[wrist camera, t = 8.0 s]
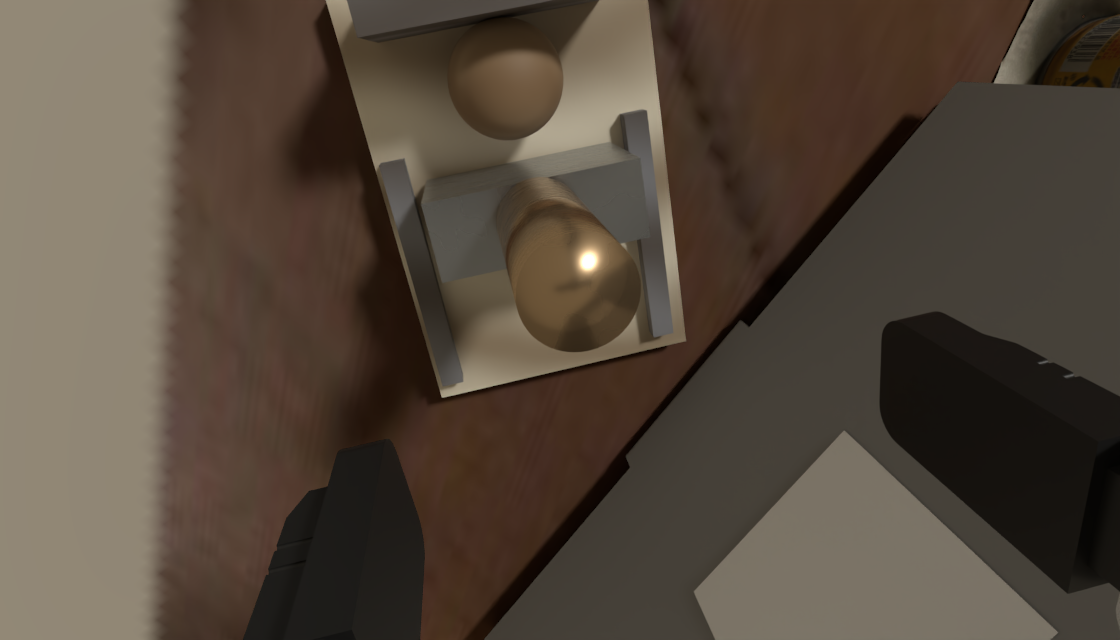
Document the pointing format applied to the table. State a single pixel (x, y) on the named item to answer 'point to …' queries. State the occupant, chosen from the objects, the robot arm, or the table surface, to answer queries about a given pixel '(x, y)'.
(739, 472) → the laptop
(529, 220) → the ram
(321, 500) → the robot arm
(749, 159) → the table surface
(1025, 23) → the condiment
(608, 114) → the peg and ball tray
